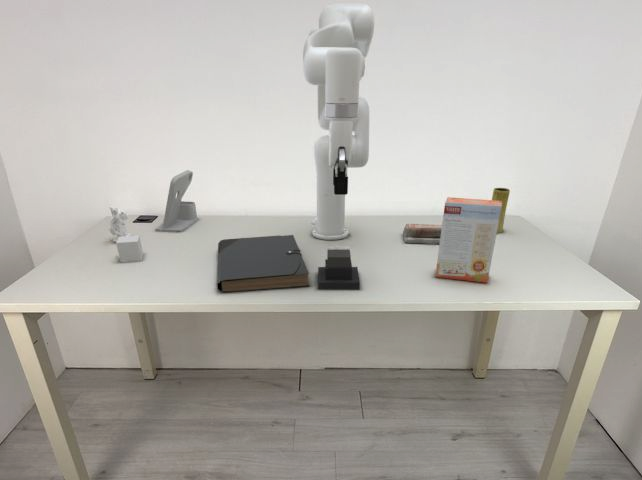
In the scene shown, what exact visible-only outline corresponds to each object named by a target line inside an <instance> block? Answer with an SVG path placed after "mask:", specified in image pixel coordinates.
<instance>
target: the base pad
mask: <svg viewBox="0 0 642 480" xmlns="http://www.w3.org/2000/svg"><path fill="white" fill-rule="evenodd" d="M358 268H359V267H358V266H352V279H326V277H325V266H318V267H317V290H360V289H361V288H360V287H361V280H360V275H359V269H358Z"/></svg>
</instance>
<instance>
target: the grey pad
mask: <svg viewBox="0 0 642 480" xmlns="http://www.w3.org/2000/svg"><path fill="white" fill-rule="evenodd" d="M326 252H327V253H326V255H327V256H326V259H327V266H328V268H350V265H351V263H352V256H351V250H350V248H349V249H348V248H347V249H342V248H341V249H340V248H339V249H338V248H337V249H334V248H333V249H331V248H330V249H329V248H328V249H327V250H326Z"/></svg>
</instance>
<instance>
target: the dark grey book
mask: <svg viewBox="0 0 642 480" xmlns="http://www.w3.org/2000/svg"><path fill="white" fill-rule="evenodd" d="M309 274H310V272H309V270H308V267H307V265H306V262H305V260H304V258H303V254H302V253H301V249H300V248H299V246H298V243H297V241H296V238H295V236H294V234H287V235H286V234H285V235H281V234H280V235H266V236H265V235H264V236H254V237H253V236H252V237H240V238H239V237H237V238H228V239H227V238H225V239H221V240H219V242H218V243H217V274H216V275H217V277H216V288H217V290H218V291H219V292H221V293H226V294H227V293H237V292H251V291H263V290H275V289H288V288H301V287H310V284H309Z"/></svg>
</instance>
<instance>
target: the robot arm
mask: <svg viewBox="0 0 642 480" xmlns="http://www.w3.org/2000/svg"><path fill="white" fill-rule="evenodd" d="M374 32H375V17H374V13H373V10H372V8H371V7H370V6H369V5H368V4H366V3H332V4H328V5H326V6H325V7H324V8H323V9H322V11H321V12H320V14H319V18H318V26H314V28H313V27H312V29H311V30H310V31H309V32H308V33H309V34H308V36H307V38H306V40H305V41H304V45H303V50H302V70H303V71H302V73H303V76H304V79H305V80H306V82H307V83H308V84H309V85H312V86H317V120H318V125H319V128H321V129H322V130H324V131H328V134H327V135H326V134H325V135H321V136H319V137H318V138H316V140H315V141H314V143H313V158H314V163H315V175H316V176H315V177H316V217H314V218H313V220H311V221H310V224H311V225H314V229H313V230H312V232H311V234H312V236H313V237H314V238H317V239H319V240H324V241H336V240H337V241H338V240H342V239H345V238H347V237H349V234H350V232H349V230H348V228H345V217H346V216H345V214H346V213H345V211H346V195H348V191H349V176H348V168H349V169H350V168H353V169H354V168H355V169H356V168H363V167H365V166H366V165H367V164H368V162H369V158H370V157H369V155H370V106H369V103H368V102H369V101H367V99H366V98H365V97H362V96H360V82H361V80H362V78H364V76H365V71H366V58H367V56H368V54H369V51H370V47H371V45H372V41H373V36H374ZM353 133H354V134H353Z"/></svg>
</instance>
